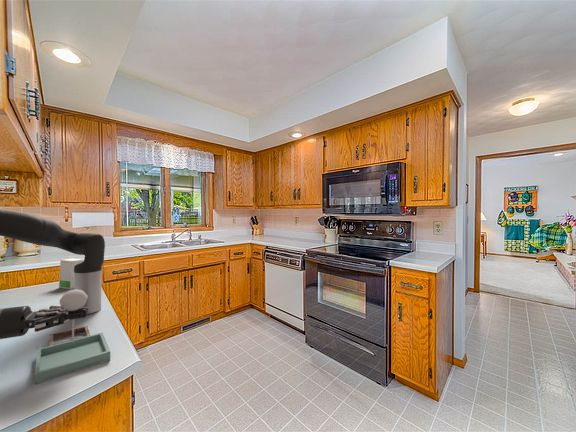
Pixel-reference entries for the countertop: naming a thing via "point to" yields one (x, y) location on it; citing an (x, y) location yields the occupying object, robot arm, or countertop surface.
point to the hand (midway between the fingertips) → (86, 312)
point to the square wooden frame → (69, 334)
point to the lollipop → (73, 303)
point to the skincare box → (68, 272)
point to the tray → (70, 357)
